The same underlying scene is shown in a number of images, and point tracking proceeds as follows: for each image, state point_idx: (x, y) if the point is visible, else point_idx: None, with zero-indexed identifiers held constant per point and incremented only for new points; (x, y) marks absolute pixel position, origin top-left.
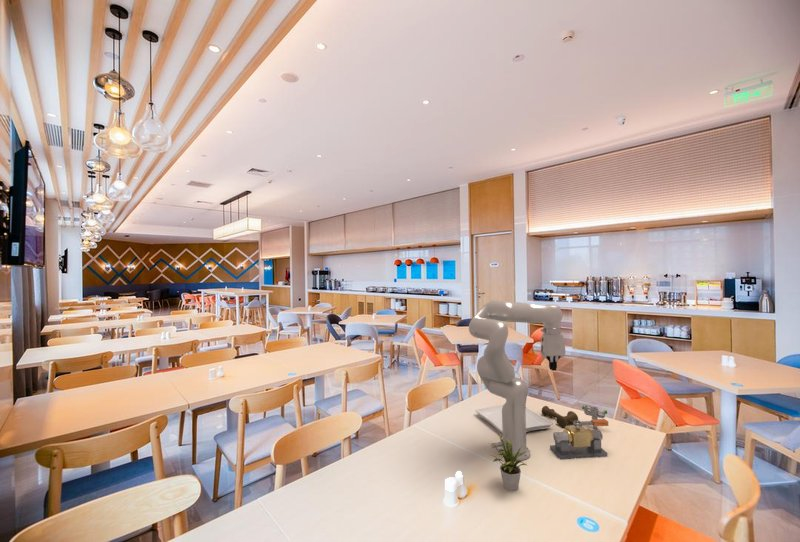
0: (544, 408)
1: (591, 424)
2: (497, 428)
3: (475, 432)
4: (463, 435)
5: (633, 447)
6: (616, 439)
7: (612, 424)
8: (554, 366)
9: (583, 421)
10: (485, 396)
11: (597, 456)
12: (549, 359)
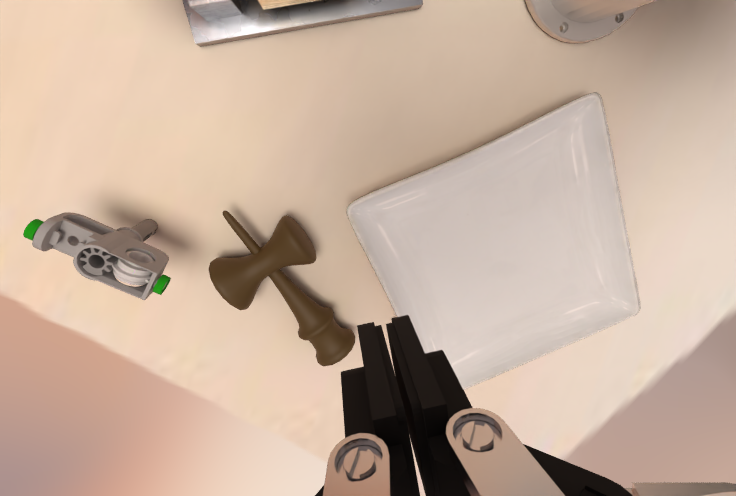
0: (342, 345)
1: None
2: (609, 146)
3: (674, 151)
4: (730, 121)
5: (9, 42)
6: (74, 123)
7: (54, 275)
8: (391, 364)
9: None
10: None
11: None
12: (535, 468)
